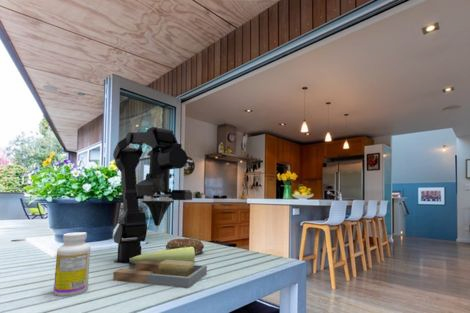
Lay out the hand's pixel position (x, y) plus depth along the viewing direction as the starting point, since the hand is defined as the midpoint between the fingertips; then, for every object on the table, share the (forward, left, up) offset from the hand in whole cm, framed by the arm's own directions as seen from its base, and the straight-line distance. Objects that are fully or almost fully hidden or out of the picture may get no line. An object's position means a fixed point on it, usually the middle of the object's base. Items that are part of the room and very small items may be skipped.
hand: (157, 225), depth 79 cm
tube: (+6, +15, -10) cm, 19 cm away
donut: (-3, +27, -13) cm, 30 cm away
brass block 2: (+10, -3, -13) cm, 16 cm away
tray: (+8, -3, -13) cm, 16 cm away
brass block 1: (+6, -3, -13) cm, 14 cm away
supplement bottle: (-11, -18, -13) cm, 25 cm away
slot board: (-2, -3, -13) cm, 13 cm away
